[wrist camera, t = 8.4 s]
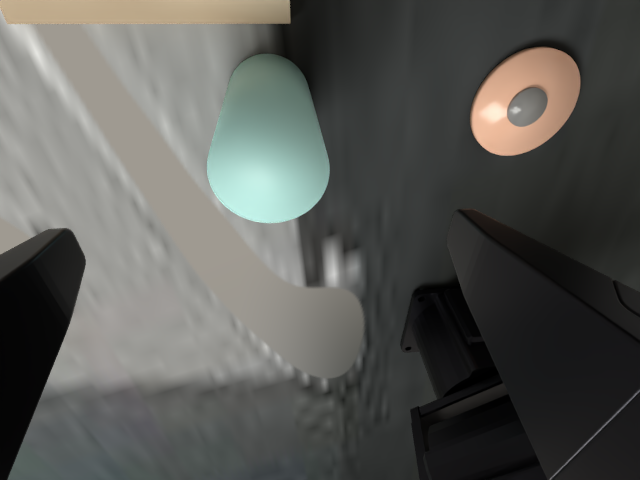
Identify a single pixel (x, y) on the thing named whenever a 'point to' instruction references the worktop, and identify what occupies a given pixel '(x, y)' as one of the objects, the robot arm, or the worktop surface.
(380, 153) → the worktop surface
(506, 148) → the peach flat disc
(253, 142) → the peg
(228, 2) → the board
